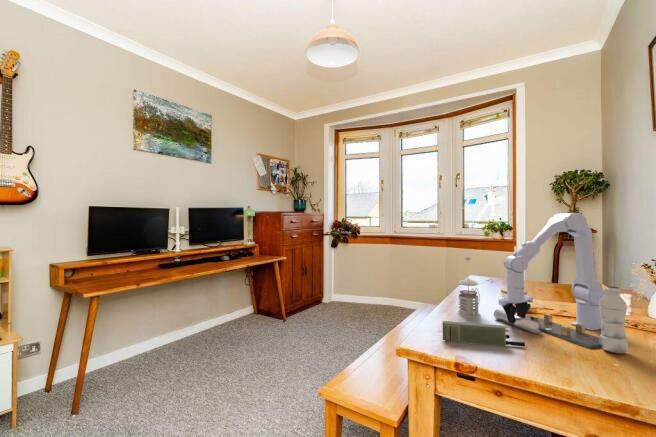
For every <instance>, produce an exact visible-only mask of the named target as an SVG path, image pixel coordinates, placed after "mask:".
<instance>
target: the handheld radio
mask: <svg viewBox="0 0 656 437" xmlns="http://www.w3.org/2000/svg"><path fill="white" fill-rule="evenodd" d="M509 328H510V327H509V325H500V324H499V325H498V324H490V323H488V324H487V323H476V322H475V323H473V322H463V321H462V322H461V321H453V320H452V321H451V320H442V341H443V340H447V341H446V342H451V341H456V342H455V343H461V342H463V343H462V344H474V345H483V346H494V347H500V348H501V347H502V348H503V347H504V348H505V347H506V346H516V347H526V343H525V342H524V341H523V342H522V341H513V340H510V341H509V340H508V339H510V335H509V334H507V333H509V332H510V330H509Z"/></svg>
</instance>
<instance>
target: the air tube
mask: <svg viewBox="0 0 656 437" xmlns="http://www.w3.org/2000/svg"><path fill="white" fill-rule="evenodd" d="M493 317H494V318H495V319H496V320H498V321H500V322H503V323H506V324H509V325H512V326H514V327H517V328H519V329H522V330H525V331H528V332H530V333H533V334H535V335H539V334H540V333H541V332H542V331H541V330H542V326H541V324H540V323H537V322H534V321H531V320H528V319H525V318H522V317H520V316H517V315H516V314H515V323H514V324H512V323H509V322H508V318H507V315H506V312H505V310H503V309H502V310H501V309H495V310H494V312H493Z"/></svg>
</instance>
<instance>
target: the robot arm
mask: <svg viewBox="0 0 656 437" xmlns="http://www.w3.org/2000/svg"><path fill="white" fill-rule="evenodd" d="M563 232H566V233H568V235H571V236H572V237H573V240H574V241H573V242H574V243H573V244H574V254H575V257H574V258H575V266H576V278H574V279H573V280H572V287H571V289H570V290H571V295H572V296H573V297H574V299H575V301H576V302H575V304H576V306H575V308H576V309H575V312H576V313H575V316H576V320H575V321H573V322H570V325H574V326H576V324H578V323H580V324H583V325H585V330H589V331H597V330H601V326H602V322H601V321H602V320H601V313H600V308H599V300H600V299H601V298H602V297H603V296H604V295H605V292H604V291H605V289H604V288H603V284H602V283H601V282H600V281H599V280H598V279H597V278H596V266H595V255H594V254H595V253H594V244H593V241H594V240H593V232H592V229H591V227H590V226H589V224H588V220H587V217H585V215H582V214H581V213H578V212H572V213H571V212H569V213H565V212H564V213H563V212H557V213H555V214H554V215H553V216H552V217H551V218H550V219H548V221H547V223H546V224H545V225H544V226H543V228H542V229H541V230H540V231H539V232H538V233H537V234H536V236H535V237H534V238H533V239H532V240H527V241H525V242H522V243H521V244H520V245H521V246H520V247H519V248H518V249H517V250H515V251H513V252H512V255H508V256H507V257H506V258H505V260H504V262H503V266H504V267H505V268H506V269H505V270H506V286H507V287H506V288H507V296H506V298H503V299H502V298H501V299H498V305H499V306H501V307H502V308H503V309H502V310H503V311H505V312H506V315H507V318H508V322H509V323H512V324H514V323H515V315H516V314H517V316H520V317H522V318H525V316H527V313H528V311H529V309H530V308H531V306H532V305H531V304H530V303H533V302H534V301H533V298H534V297H532V296H529V295H527V296H526V297H524V290H525V271H526V270H527V269H528V265H529V264H530V262H531V261H532V259H533V258H535V257H536V256H537V255H538V254H539V253H540V252H541V246H542V245H543V244H545V243H546V242H547V241H549V239H551V238H552V237H553V236H554V235H555V234H557V233H563ZM513 304H515V306H516V307H515V306H514V305H513ZM509 323H508V324H509Z"/></svg>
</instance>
